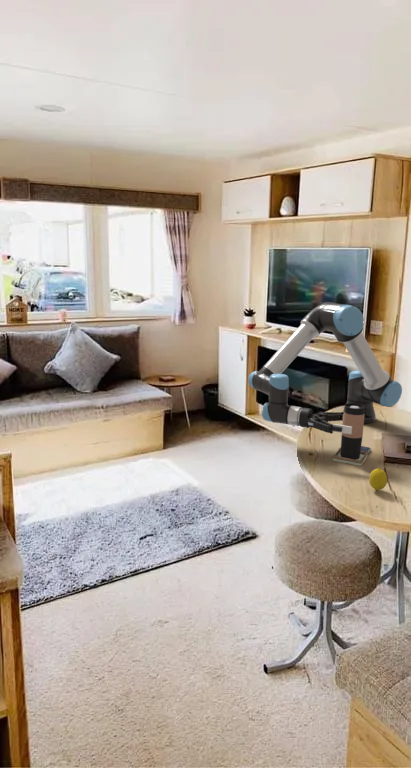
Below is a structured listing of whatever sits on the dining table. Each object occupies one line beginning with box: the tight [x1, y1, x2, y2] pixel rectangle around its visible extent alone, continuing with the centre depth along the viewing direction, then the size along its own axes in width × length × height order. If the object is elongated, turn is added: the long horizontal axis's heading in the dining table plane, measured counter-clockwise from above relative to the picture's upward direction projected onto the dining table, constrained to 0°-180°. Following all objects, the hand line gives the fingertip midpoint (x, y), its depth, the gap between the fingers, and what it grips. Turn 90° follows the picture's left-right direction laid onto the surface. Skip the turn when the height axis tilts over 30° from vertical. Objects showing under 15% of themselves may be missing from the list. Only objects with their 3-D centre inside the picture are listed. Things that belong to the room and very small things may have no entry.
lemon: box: [368, 467, 388, 492], centre depth 183 cm, size 6×6×8 cm
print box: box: [332, 446, 369, 467], centre depth 212 cm, size 11×11×2 cm
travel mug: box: [340, 403, 365, 460], centre depth 210 cm, size 8×8×20 cm
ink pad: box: [361, 445, 372, 456], centre depth 220 cm, size 8×10×1 cm
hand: (356, 425), depth 208 cm, fingers open, 13 cm apart
